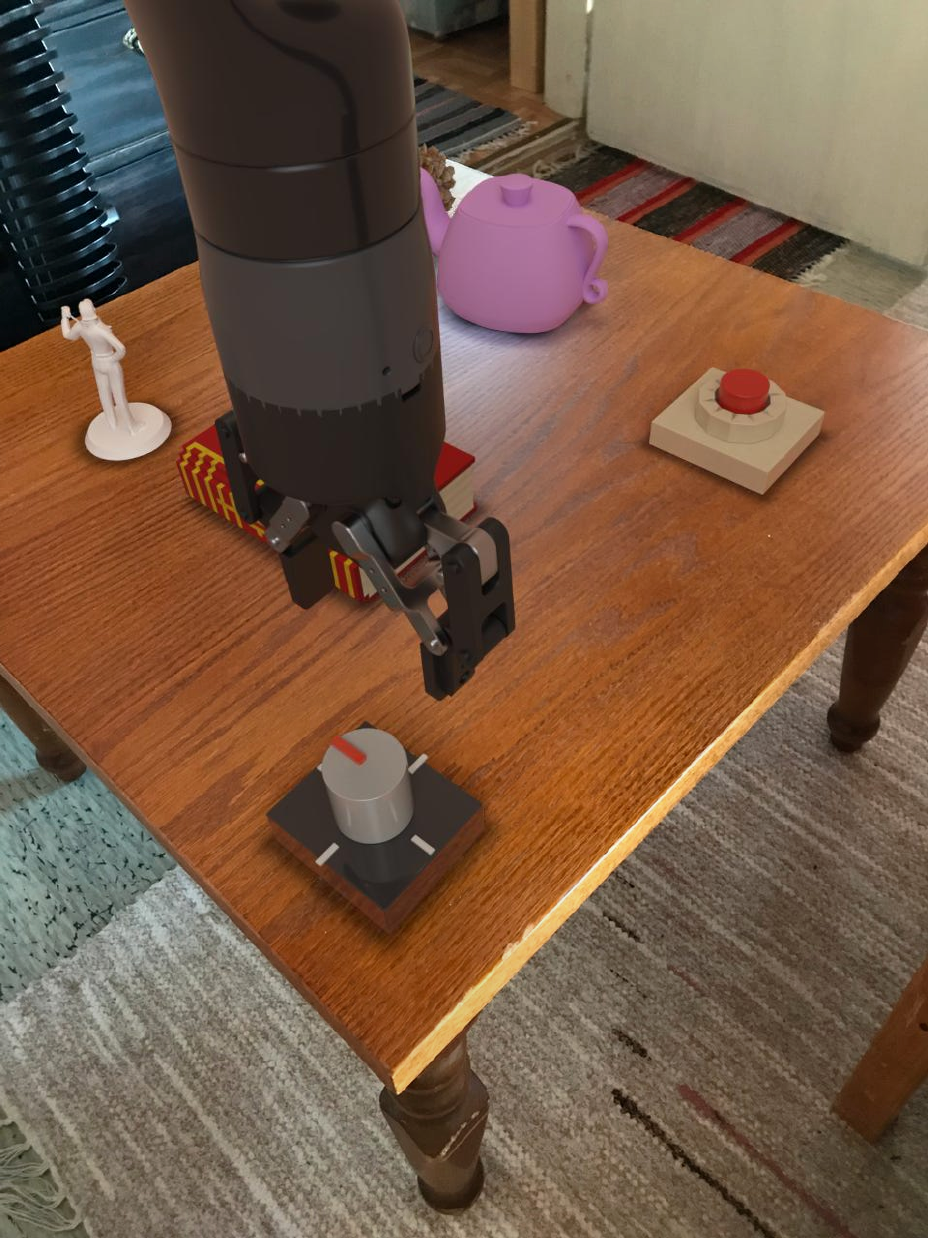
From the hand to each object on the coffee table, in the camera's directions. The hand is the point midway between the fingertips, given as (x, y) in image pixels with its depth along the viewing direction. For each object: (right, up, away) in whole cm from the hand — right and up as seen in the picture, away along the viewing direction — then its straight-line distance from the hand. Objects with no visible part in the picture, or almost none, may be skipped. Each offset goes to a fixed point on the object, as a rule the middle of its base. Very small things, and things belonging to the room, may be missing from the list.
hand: (379, 639), depth 46 cm
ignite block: (+25, +15, +32) cm, 44 cm away
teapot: (+8, +31, +47) cm, 56 cm away
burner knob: (-1, -9, +8) cm, 13 cm away
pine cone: (-4, +35, +51) cm, 62 cm away
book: (-6, +9, +29) cm, 31 cm away
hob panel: (-1, -11, +11) cm, 16 cm away
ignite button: (+25, +18, +29) cm, 42 cm away
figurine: (-24, +16, +36) cm, 46 cm away
